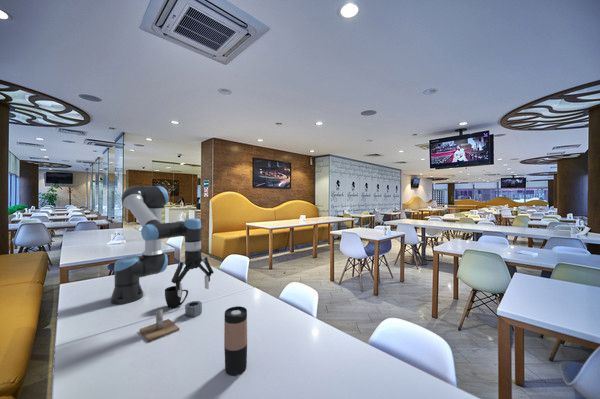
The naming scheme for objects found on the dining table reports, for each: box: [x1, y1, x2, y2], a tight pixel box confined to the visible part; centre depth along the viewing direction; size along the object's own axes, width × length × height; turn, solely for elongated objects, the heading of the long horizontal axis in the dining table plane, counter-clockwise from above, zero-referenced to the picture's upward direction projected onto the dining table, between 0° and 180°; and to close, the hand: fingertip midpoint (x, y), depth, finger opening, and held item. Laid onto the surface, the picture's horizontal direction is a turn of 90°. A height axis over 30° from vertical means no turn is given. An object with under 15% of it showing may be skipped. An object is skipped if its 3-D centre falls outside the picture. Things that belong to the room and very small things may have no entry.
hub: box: [184, 300, 203, 319], centre depth 125 cm, size 7×7×5 cm
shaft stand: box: [139, 308, 180, 343], centre depth 109 cm, size 12×12×9 cm
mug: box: [164, 285, 189, 309], centre depth 133 cm, size 8×12×10 cm
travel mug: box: [223, 305, 248, 377], centre depth 86 cm, size 8×8×20 cm
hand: (193, 292), depth 124 cm, fingers open, 13 cm apart
